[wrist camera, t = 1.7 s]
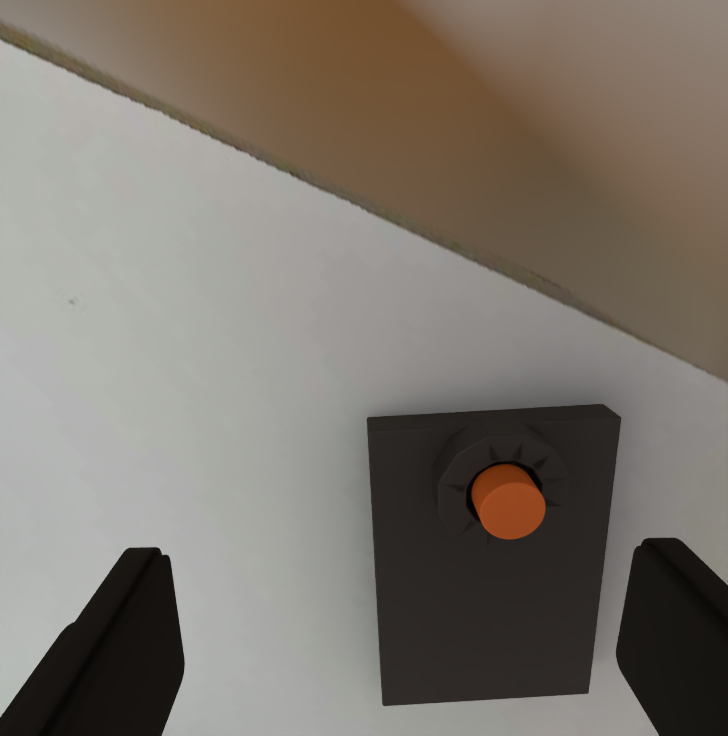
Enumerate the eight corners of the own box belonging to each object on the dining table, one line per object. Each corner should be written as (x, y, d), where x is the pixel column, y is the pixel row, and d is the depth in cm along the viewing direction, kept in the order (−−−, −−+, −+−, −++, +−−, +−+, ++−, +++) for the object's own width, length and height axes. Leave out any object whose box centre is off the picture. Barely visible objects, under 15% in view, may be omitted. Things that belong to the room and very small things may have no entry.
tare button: (471, 465, 20) (480, 485, 18) (533, 461, 20) (548, 481, 19) (470, 518, 21) (479, 542, 19) (530, 515, 21) (544, 538, 19)
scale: (366, 411, 22) (368, 443, 19) (604, 398, 22) (644, 427, 19) (381, 679, 27) (384, 737, 24) (575, 667, 27) (603, 724, 24)
